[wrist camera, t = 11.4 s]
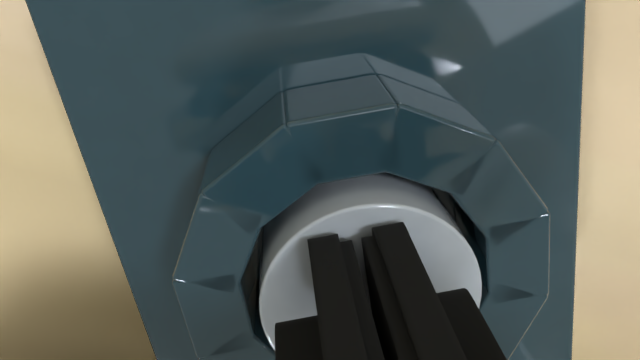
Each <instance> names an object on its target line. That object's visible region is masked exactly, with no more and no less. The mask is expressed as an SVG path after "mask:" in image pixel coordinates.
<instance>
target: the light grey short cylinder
mask: <svg viewBox="0 0 640 360" xmlns="http://www.w3.org/2000/svg"><path fill="white" fill-rule="evenodd" d="M399 222H404V224H405V226H406V228H407V230H408V232H409V235H410V237H411V239H412V241H413V243H414V246H415V248H416V250H417V252H418V254H419V256H420V259H421V261H422V263H423V265H424V267H425V269H426V272H427V274H428V276H429V278H430V280H431V282H432V285H433V287H434V289H435V291H436V293H439V292H445V291H450V290H456V289H461V288H465V289H467V290H468V291H469V293H470V294H471V296H472V297H473V299H474V301H475V303H476V305H477V306H478V308H479V307H480V301H481V296H482V279H481V271H480V268H479V264H478V261H477V258H476V256H475V254H474V252H473V250H472V248H471V246H470V245H469V243H468V242H467V240H466V238H465V237H464V235H463V234H462V232H461V230H460V229H459V227H458V226H457V224H456V222H455V221H454V219H453V218H452V216H451V214H450V213H449V211H448V210H447V208H446V206H445V205H444V203H443V202H442V200H441V199H440V197H439V196H438V194H437V193H436V191H435V190H434V189H433V188H432V187H429V186H426V185H423V184H420V183H417V182H414V181H411V180H408V179H405V178H402V177H399V176H396V175H393V174H389V173H386V172H385V173H379V174H374V175H368V176H362V177H357V178H351V179H346V180H340V181H335V182H329V183H324V184H318V185H316V186H315V187H313V188H312V189H311V190H309V191H308V192H307V193H306V194H304V195H303V196H302V197H300V198H299V199H298V200H297V201H295V202H294V203H293V204H291V205H290V206H289V207H288V208H286V209H285V210H284V211H282V212H281V213H280V214H279V215H277V216H276V217H275V218H273V219H272V220H271V221H269V222H268V223H267V224H266V225H264V226H263V230H262V234H261V241H260V278H259V314H260V320H261V324H262V327H263V330H264V333H265V336H266V337H267V339H268V341H269V343H270V345H271V346H272V348H273V349H274V350H275V324H276V323H278V322H284V321H289V320H294V319H300V318H305V317H311V316H316V315H317V309H316V301H315V294H314V286H313V279H312V271H311V264H310V257H309V249H308V241H307V239H312V238H318V237H323V236H329V235H334V234H338V236H339V240H340V242H342V241H347V240H352V242H353V246H354V249H355V253H356V257H357V260H358V264H359V268H360V271H361V275H362V279H363V282H364V286H365V290H366V293H367V297H368V301H369V304H370V308H371V303H370V296H369V289H368V282H367V276H366V269H365V262H364V256H363V249H362V241H361V238H364V237H369V236H372V227H377V226H383V225H388V224H394V223H399ZM371 312H372V309H371Z"/></svg>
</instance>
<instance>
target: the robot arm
mask: <svg viewBox="0 0 640 360" xmlns="http://www.w3.org/2000/svg"><path fill="white" fill-rule="evenodd" d="M307 241H308V249H309V257H310V264H311V271H312V279H313V286H314V294H315V301H316V309H317V315H316V316H311V317H305V318H300V319H294V320H289V321H284V322H278V323H276V324H275V360H507V359H506V357H505V355H504V354H503V352H502V350H501V348H500V346H499V344H498V343H497V341H496V339H495V337H494V335H493V334H492V332H491V330H490V328H489V326H488V325H487V323H486V321H485V319H484V317H483V315H482V314H481V312H480V310H479V308H478V306H477V305H476V303H475V301H474V299H473V297H472V296H471V294H470V293H469V291H468V290H467V289H465V288H461V289H456V290H450V291H445V292H439V293H436V291H435V289H434V287H433V285H432V282H431V280H430V278H429V276H428V274H427V272H426V269H425V267H424V265H423V263H422V261H421V259H420V256H419V254H418V252H417V250H416V248H415V246H414V243H413V241H412V239H411V237H410V235H409V232H408V230H407V228H406V226H405V224H404V222H399V223H394V224H388V225H383V226H377V227H372V236H369V237H364V238H361V241H362V249H363V256H364V262H365V269H366V276H367V282H368V289H369V296H370V303H371V308H370V304H369V301H368V297H367V293H366V290H365V286H364V282H363V279H362V275H361V271H360V268H359V264H358V260H357V257H356V253H355V249H354V246H353V242H352V240H347V241H342V242H340V240H339V236H338V234H334V235H329V236H323V237H318V238H312V239H307ZM371 309H372V312H371Z"/></svg>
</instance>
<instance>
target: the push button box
mask: <svg viewBox="0 0 640 360" xmlns="http://www.w3.org/2000/svg"><path fill="white" fill-rule="evenodd" d="M25 1H26V4H27V6H28V9H29V12H30V14H31V17H32V20H33V23H34V25H35V28H36V31H37V34H38V36H39V39H40V42H41V45H42V47H43V50H44V53H45V55H46V58H47V61H48V64H49V66H50V69H51V72H52V75H53V77H54V80H55V83H56V86H57V88H58V91H59V94H60V96H61V99H62V102H63V105H64V107H65V110H66V113H67V116H68V118H69V121H70V124H71V126H72V129H73V132H74V135H75V137H76V140H77V143H78V146H79V148H80V151H81V154H82V157H83V159H84V162H85V165H86V167H87V170H88V173H89V176H90V178H91V181H92V184H93V187H94V189H95V192H96V195H97V198H98V200H99V203H100V206H101V208H102V211H103V214H104V217H105V219H106V222H107V225H108V228H109V230H110V233H111V236H112V239H113V241H114V244H115V247H116V249H117V252H118V255H119V258H120V260H121V263H122V266H123V269H124V271H125V274H126V277H127V280H128V282H129V285H130V288H131V290H132V293H133V296H134V299H135V301H136V304H137V307H138V310H139V312H140V315H141V318H142V321H143V323H144V326H145V329H146V331H147V334H148V337H149V340H150V342H151V345H152V348H153V351H154V353H155V356H156V359H157V360H275V350H274V349H273V348H272V346H271V345H270V343H269V341H268V339H267V337H266V336H265V333H264V330H263V327H262V324H261V320H260V314H259V278H260V241H261V234H262V230H263V226H264V225H266V224H267V223H268V222H269V221H271V220H272V219H273V218H275V217H276V216H277V215H279V214H280V213H281V212H282V211H284V210H285V209H286V208H288V207H289V206H290V205H291V204H293V203H294V202H295V201H297V200H298V199H299V198H300V197H302V196H303V195H304V194H306V193H307V192H308V191H309V190H311V189H312V188H313V187H315V186H316V185H318V184H324V183H329V182H335V181H340V180H346V179H351V178H357V177H362V176H368V175H374V174H379V173H385V172H386V173H389V174H393V175H396V176H399V177H402V178H405V179H408V180H411V181H414V182H417V183H420V184H423V185H426V186H429V187H432V188H433V189H434V190H435V191H436V193H437V194H438V196H439V197H440V199H441V200H442V202H443V203H444V205H445V206H446V208H447V210H448V211H449V213H450V214H451V216H452V218H453V219H454V221H455V222H456V224H457V226H458V227H459V229H460V230H461V232H462V234H463V235H464V237H465V238H466V240H467V242H468V243H469V245H470V246H471V248H472V250H473V252H474V254H475V256H476V258H477V261H478V264H479V268H480V271H481V279H482V296H481V301H480V307H479V310H480V312H481V314H482V315H483V317H484V319H485V321H486V323H487V325H488V326H489V328H490V330H491V332H492V334H493V335H494V337H495V339H496V341H497V343H498V344H499V346H500V348H501V350H502V352H503V354H504V355H505V357H506V359H507V360H572V336H573V311H574V285H575V259H576V234H577V208H578V182H579V157H580V131H581V105H582V80H583V54H584V28H585V3H586V0H25Z"/></svg>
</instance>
